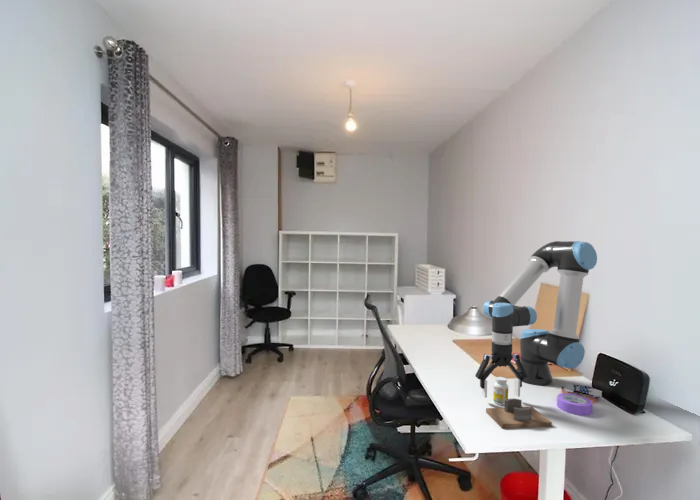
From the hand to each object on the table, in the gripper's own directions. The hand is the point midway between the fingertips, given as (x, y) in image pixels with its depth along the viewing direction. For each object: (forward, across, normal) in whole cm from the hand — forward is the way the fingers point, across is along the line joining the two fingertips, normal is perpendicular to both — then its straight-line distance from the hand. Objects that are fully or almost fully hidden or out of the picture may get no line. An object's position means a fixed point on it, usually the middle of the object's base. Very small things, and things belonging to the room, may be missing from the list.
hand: (500, 395), depth 147 cm
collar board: (+3, -1, -14) cm, 14 cm away
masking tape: (+3, +26, -7) cm, 27 cm away
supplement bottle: (+3, 0, 0) cm, 3 cm away
